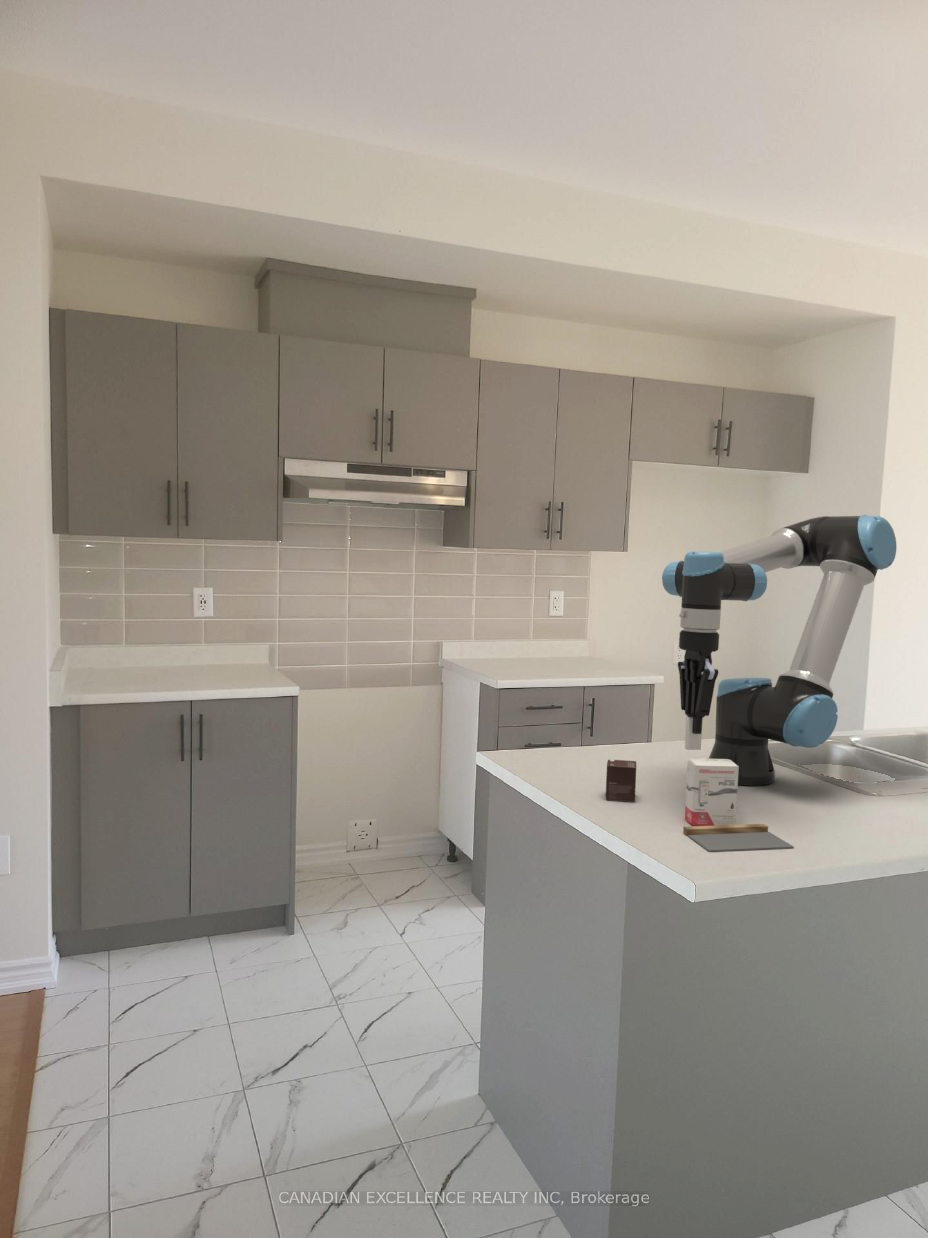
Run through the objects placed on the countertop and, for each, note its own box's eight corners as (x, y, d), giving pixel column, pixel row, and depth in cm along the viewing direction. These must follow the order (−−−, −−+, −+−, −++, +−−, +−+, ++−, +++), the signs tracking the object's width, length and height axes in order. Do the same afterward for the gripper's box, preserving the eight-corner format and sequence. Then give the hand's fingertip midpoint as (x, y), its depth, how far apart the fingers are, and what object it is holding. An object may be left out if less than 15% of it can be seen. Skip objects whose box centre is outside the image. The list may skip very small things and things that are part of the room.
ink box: (690, 826, 163) (693, 764, 162) (683, 818, 167) (686, 758, 167) (736, 827, 163) (739, 765, 162) (728, 819, 168) (731, 758, 167)
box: (635, 803, 177) (636, 767, 177) (605, 800, 178) (606, 765, 178) (635, 795, 183) (636, 760, 182) (606, 792, 184) (607, 758, 184)
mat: (769, 833, 159) (769, 832, 159) (793, 848, 151) (793, 846, 151) (688, 836, 156) (688, 835, 156) (708, 852, 148) (708, 850, 148)
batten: (763, 830, 161) (763, 823, 161) (767, 832, 160) (768, 826, 160) (683, 833, 158) (683, 826, 158) (686, 835, 157) (687, 829, 157)
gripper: (667, 627, 176) (661, 742, 177) (696, 632, 163) (689, 756, 165) (702, 627, 177) (695, 742, 179) (733, 633, 165) (726, 756, 166)
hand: (692, 748), depth 172 cm, fingers closed
